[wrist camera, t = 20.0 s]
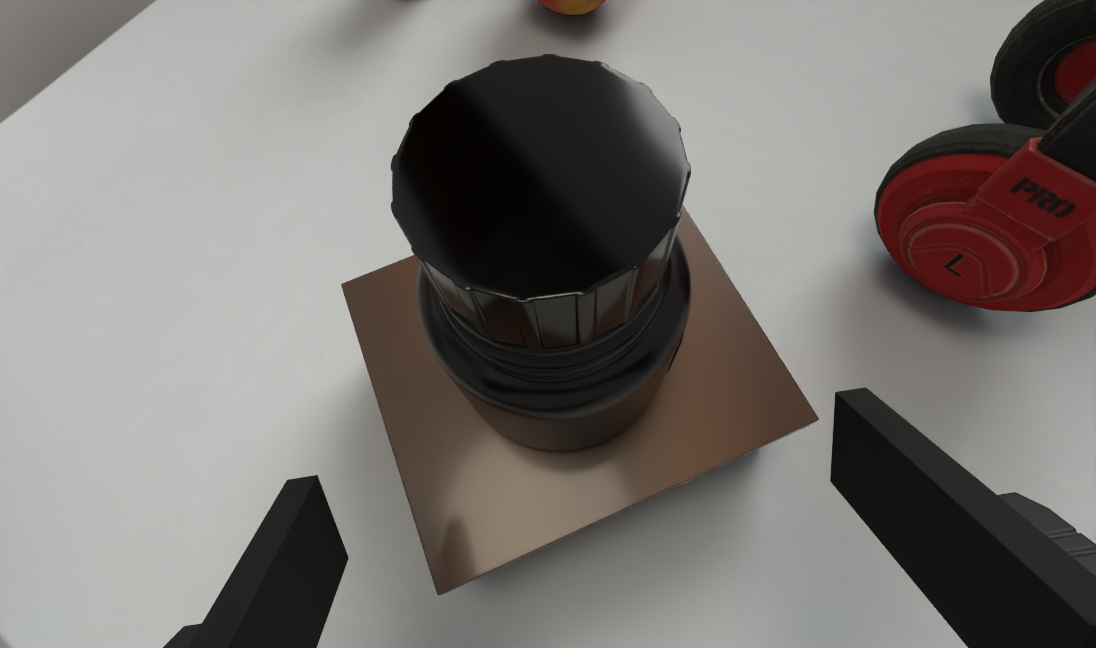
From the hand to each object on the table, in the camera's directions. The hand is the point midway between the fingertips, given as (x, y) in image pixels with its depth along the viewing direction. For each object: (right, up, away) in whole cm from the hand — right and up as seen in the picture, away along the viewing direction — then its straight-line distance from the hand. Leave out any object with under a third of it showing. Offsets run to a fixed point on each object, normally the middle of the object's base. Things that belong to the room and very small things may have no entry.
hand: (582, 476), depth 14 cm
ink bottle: (0, +3, +10) cm, 10 cm away
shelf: (0, +1, +15) cm, 15 cm away
